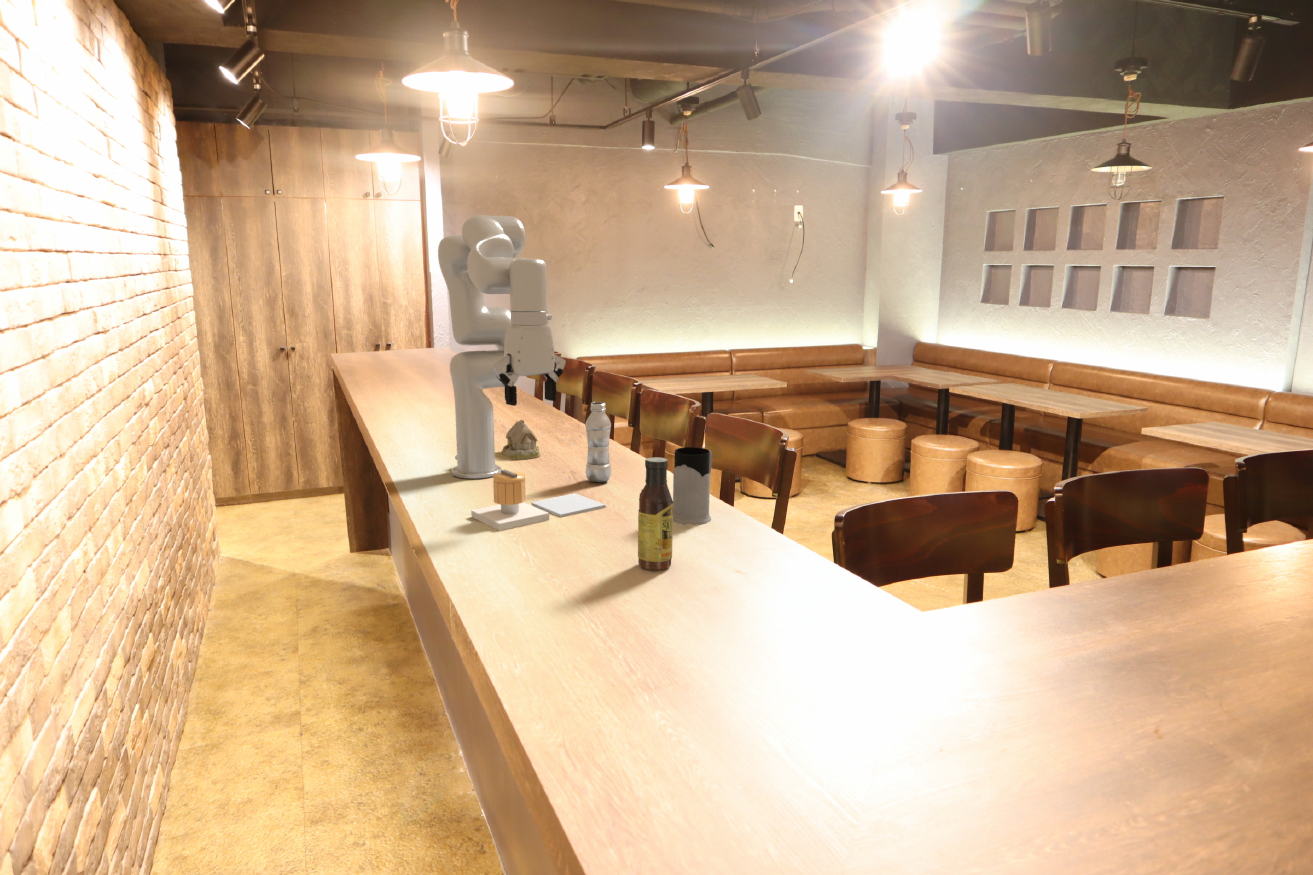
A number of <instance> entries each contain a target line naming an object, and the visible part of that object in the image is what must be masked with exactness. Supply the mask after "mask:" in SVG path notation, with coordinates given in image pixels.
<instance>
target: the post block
mask: <svg viewBox="0 0 1313 875" xmlns="http://www.w3.org/2000/svg"><path fill="white" fill-rule="evenodd" d="M470 514H471V516H472V517H471V518H473V517H474V518H473V519H475V520H477V519H478V520H477V521H479V520H480V521H479V522H481V521H482V522H481V523H483V522H484V523H483V524H485V525H487V526H489V527H491V528H493V529H495V530H497V531H506V530H510V529H514V528H519V527H523V526H528V525H532V524H537V523H542V522H546V521H549V520H550V512H548V511H545V510H543V509H540V508H538V507H536V506H533V505H531V504H529V503H526V502H523V503H520V504H515V505H502V504H496V505H490V506H486V507H481V508H476V509H471V513H470Z"/></svg>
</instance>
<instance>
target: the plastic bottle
mask: <svg viewBox="0 0 1313 875" xmlns="http://www.w3.org/2000/svg"><path fill="white" fill-rule="evenodd" d="M606 410H607V408H606V402H603V401H593V402H591V403H590V411H591V413H590V415H589V416H588V417H587V419H586V421H585V424H584V425H585V432H586V439H587V459H586V464H585V476H586V479H587V480H588V482H593V483H604V482H607V481H609V480H610V478H611V475H612V466H611V463H610V462H611V461H610V460H611V459H610V446H609V445H610V435H611V427H612V423H611V420H610V418H609V417H608V415H607V413H606Z"/></svg>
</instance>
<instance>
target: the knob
mask: <svg viewBox="0 0 1313 875" xmlns="http://www.w3.org/2000/svg"><path fill="white" fill-rule="evenodd" d="M492 477H493V478H492V480H493V481H492V483H493V486H492V487H493V503H494V504H496V505H500V504H502V505H515V504H520V503H523V502H524V503H526V475H525V473H523V472H520V471H510V470H507V469H501V473H497V474H494V475H493V476H492Z"/></svg>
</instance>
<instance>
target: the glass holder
mask: <svg viewBox="0 0 1313 875" xmlns="http://www.w3.org/2000/svg"><path fill="white" fill-rule="evenodd" d="M712 465H713V454H712V451H711V450H710V449H707V448H704V447H697V446H696V447H695V446H689V447H688V446H685V447H679V448H676V449H675V450H674V467H673V468H674V470H673V475H672V476H673V478H672V480H673V482H672V483H673V485H672V488H673V489H672V491H673V492H672V500H673V523H676V522H677V524H680V525H685V524H699V525H704V524H708V523H709V522H711V521H712V518H711V515H710V497H711V496H710V491H711V490H710V489H711V488H710V487H711V472H712ZM707 522H708V523H707Z"/></svg>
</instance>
